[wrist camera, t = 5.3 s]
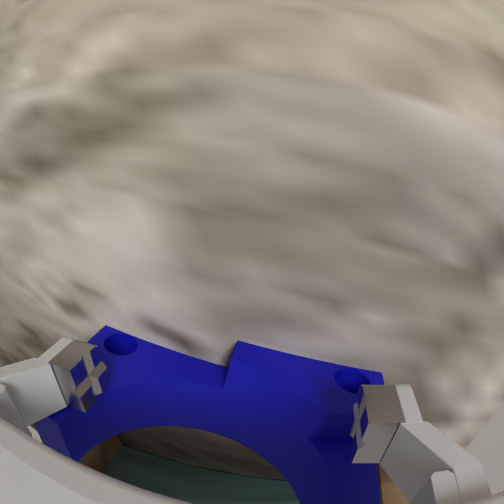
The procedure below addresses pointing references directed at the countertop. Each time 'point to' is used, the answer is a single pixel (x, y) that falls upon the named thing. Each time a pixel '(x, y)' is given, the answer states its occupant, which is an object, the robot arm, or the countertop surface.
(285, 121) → the countertop surface
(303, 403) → the cable clip
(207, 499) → the rail
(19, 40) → the countertop surface
